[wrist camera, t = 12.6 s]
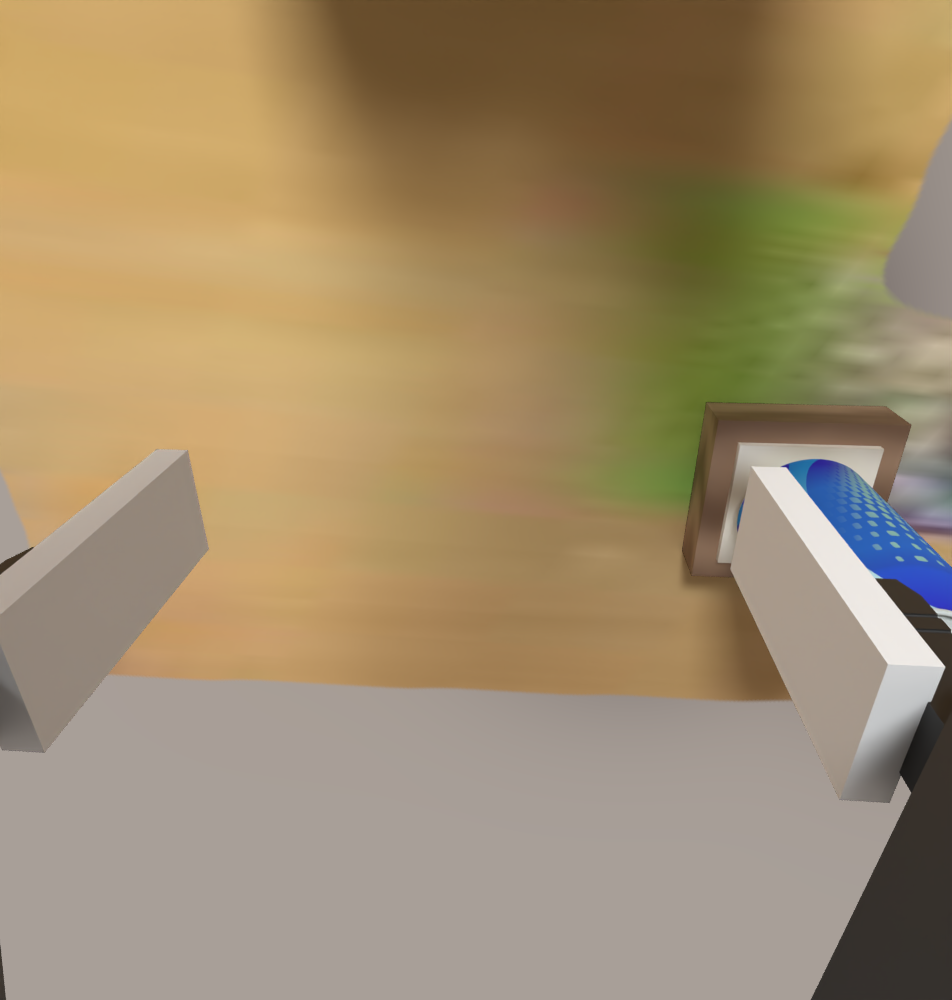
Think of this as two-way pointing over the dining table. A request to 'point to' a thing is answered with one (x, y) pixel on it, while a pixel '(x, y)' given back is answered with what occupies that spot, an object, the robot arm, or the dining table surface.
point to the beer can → (875, 531)
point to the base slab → (778, 462)
